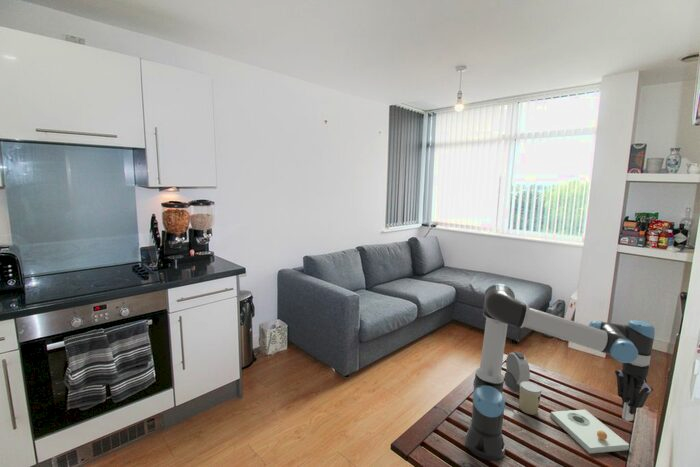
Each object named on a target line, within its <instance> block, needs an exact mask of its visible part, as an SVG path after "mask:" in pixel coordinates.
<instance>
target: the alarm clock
mask: <svg viewBox="0 0 700 467" xmlns="http://www.w3.org/2000/svg"><path fill="white" fill-rule="evenodd" d="M505 362H506V363H505V364H506V365H505V368H506V372H505V373H504V376H503V377H504V382H505V384H506V385H507V386H508V388H509V389H511V390H512V391H514V392H520V383H521V382H523V381H529V382H530V378H531V377H530V375H531V372H530V365H529V362H528V359H527V358H526V356H525V355H524V354H523V352H521V351H517V350H515V351H513V352H510V353H508V355H507V356H506V361H505Z"/></svg>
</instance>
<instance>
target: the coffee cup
mask: <svg viewBox="0 0 700 467" xmlns="http://www.w3.org/2000/svg"><path fill="white" fill-rule="evenodd" d="M542 392H543V390H542V388H541V387H540V385H539V384H537V383H535V382H532V381H530V380H529V381H523V382H521V383H520V391H519V400H518V401H519V409H520V410H521V411H522V412H523V413H525V414H527V415H536V414H538V410H539V407H540V406H539V404H540V401H541V395H542Z"/></svg>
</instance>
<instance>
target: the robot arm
mask: <svg viewBox="0 0 700 467" xmlns="http://www.w3.org/2000/svg"><path fill="white" fill-rule="evenodd" d="M482 310H483V311H482V314H483V316H484V318H485V325H484V334H483V341H482V349H481V358H480V365H479V368H477V369H476V370H475V374H474V375H475V376H474V380H473V393H472V395H473V396H472V408H471V409H472V411H471V421H470V422H471V423H470V426H469V427H468V430H467V432H466V433H465V441H464V442H465V443H464V444H465V446H466V448H467V449H468V450H469V451H470V452H471V453H472V454H473V455H474V456H477V458H480V459H481V460H482V459H483V460H486V461H493V462H494V461H499V460H501V459H503V457H505V452H506V451H505V450H506V445H505V442H504V438H503V434H502V433H503V425H504V424H503V423H504V414H505V408H506V402H505V397H504V395H503V390H504V385H505V384H504V382H505V380H504V377H505V376H503V374H502V369H503V361H504V355H505V354H504V353H505V346H506V339H507V333H508V326H512V327H514V328H518V329H522V328H527V329H529V330H533V331H535V332H539V333H543V334H545V335H547V336H551V337H554V338H556V339H557V338H558V339H561V340H564V341H567V342H570V343H573V344H576V345H578V346H582V347H585V348H587V349H591V350H594V351H598V352H600V353H603V354H606V355H610V357H612V358H613V359H614V360H616V361H617V362H619V363H622V366H621V368H622V369H621V370H620V369H619V370H615V371H614V372H615V376H616V384H617V396H618V397H619V398H621V400H622V403H621V404H622V405H621V409H622V414H621V418H622V419H623V420H624V421H625V422H630V421H631V422H632V421H633V420H634V415H635V414H637V409H640V408H641V409H642V408H643V407H644V406H645V404H646V401H647V399H648V398H649V395H650V393H652V392H654V388H653V387H650V386H649V385H648V384H647V382H648V381H647V377H648V375H649V371H650V362H651V357H652V350H653V345H654V341H655V333H656V331H655V329H656V328H655V327H654V325H653V324H651V323H649V322H647V321H642V320H639V319H638V320H637V319H635V320H634V319H631V320H629V321H628V323H627V324H619V323H613V322H611V323H610V322H605V321H602V320H601V321H599V320H597V321H596V320H592V321H590V322H589V324H588V325H586V324H583V323H581V322H578V321H574V320H572V319H571V320H570V319H568V318H564V317H561V316H558V315H555V314H552V313H550V312H549V313H548V312H544V311H542V310H539V309H536V308H532V307H530V306H529V305H528V304H527V303H525V302H522V301H519V300H517V299H516V297H515V292H514V291H513V290H512V288H511V287H510V286H508V285H506V284H503V283H494V284H491V285H489V286H488V287H487V288H486V290H485V292H484V303H483V309H482Z"/></svg>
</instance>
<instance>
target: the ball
mask: <svg viewBox="0 0 700 467" xmlns="http://www.w3.org/2000/svg"><path fill="white" fill-rule="evenodd" d="M597 436H598V438H599V439H601V440H606V439H607V434H606V433H605V432H604V431H602V430H599V431H598V432H597Z"/></svg>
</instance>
